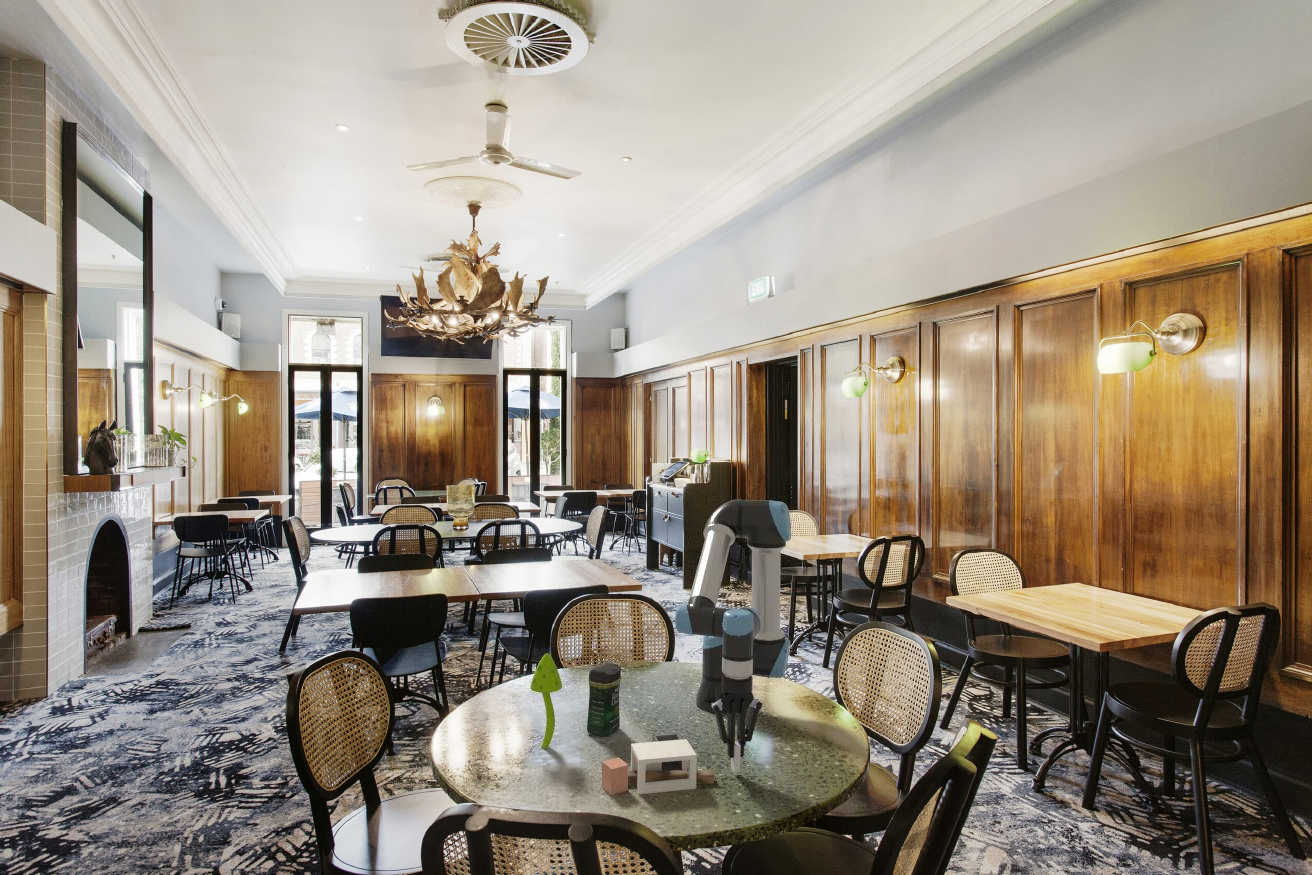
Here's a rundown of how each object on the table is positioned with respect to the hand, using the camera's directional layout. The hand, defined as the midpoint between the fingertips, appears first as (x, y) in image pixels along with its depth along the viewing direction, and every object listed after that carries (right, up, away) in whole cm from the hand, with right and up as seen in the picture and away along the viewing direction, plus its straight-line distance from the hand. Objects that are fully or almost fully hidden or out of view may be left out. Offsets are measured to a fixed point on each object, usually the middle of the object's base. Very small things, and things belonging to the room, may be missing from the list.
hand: (735, 769), depth 174 cm
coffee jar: (-34, -1, +24) cm, 42 cm away
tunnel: (-19, -1, -2) cm, 19 cm away
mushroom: (-49, -1, +14) cm, 51 cm away
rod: (-17, -1, -4) cm, 17 cm away
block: (-29, -1, -8) cm, 30 cm away
